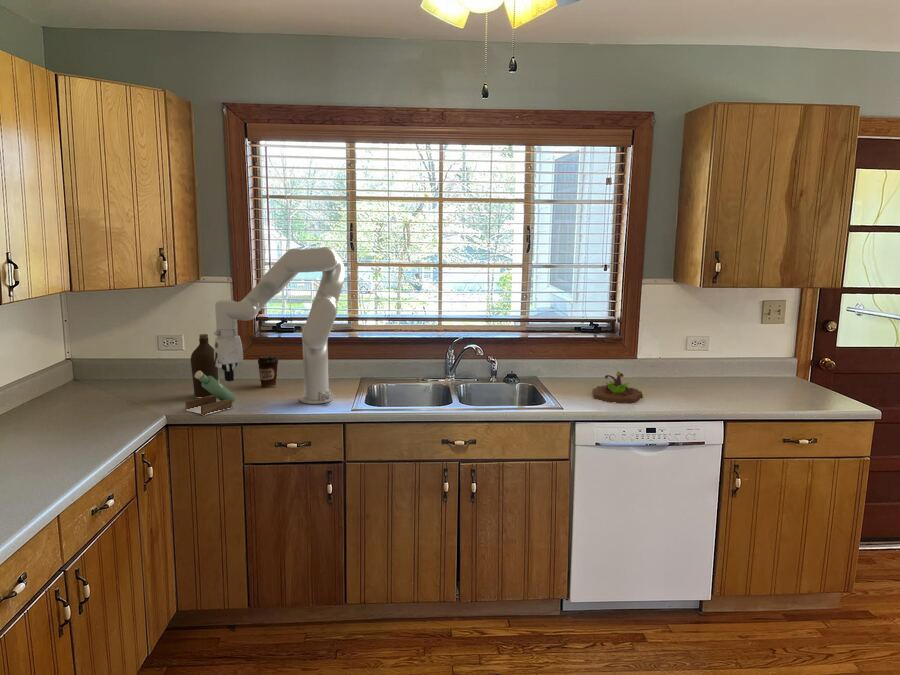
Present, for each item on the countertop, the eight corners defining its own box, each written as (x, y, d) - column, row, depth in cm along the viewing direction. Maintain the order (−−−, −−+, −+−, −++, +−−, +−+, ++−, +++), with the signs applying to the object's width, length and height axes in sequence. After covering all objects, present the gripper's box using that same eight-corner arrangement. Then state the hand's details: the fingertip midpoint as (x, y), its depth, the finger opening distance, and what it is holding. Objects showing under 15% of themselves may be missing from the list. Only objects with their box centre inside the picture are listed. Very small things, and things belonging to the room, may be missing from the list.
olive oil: (198, 401, 249) (194, 337, 245) (189, 395, 257) (185, 334, 253) (225, 396, 256) (221, 335, 251) (215, 391, 264) (212, 331, 260)
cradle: (232, 408, 240) (231, 399, 239) (203, 416, 230) (203, 406, 229) (214, 403, 246) (213, 394, 245) (185, 410, 236) (185, 401, 236)
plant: (588, 401, 256) (589, 373, 254) (594, 389, 274) (596, 363, 272) (640, 406, 249) (642, 378, 247) (643, 394, 267) (645, 367, 265)
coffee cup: (275, 389, 268) (274, 358, 266) (256, 388, 269) (254, 358, 266) (281, 384, 277) (280, 354, 275) (262, 383, 277) (261, 354, 275)
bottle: (237, 395, 245) (205, 369, 232) (230, 406, 243) (197, 380, 230) (229, 393, 248) (197, 367, 235) (222, 404, 246) (189, 378, 233)
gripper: (215, 336, 233) (218, 386, 236) (250, 331, 245) (251, 378, 248) (203, 334, 237) (206, 382, 240) (237, 329, 249) (239, 375, 252)
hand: (229, 380), depth 244 cm, fingers closed
